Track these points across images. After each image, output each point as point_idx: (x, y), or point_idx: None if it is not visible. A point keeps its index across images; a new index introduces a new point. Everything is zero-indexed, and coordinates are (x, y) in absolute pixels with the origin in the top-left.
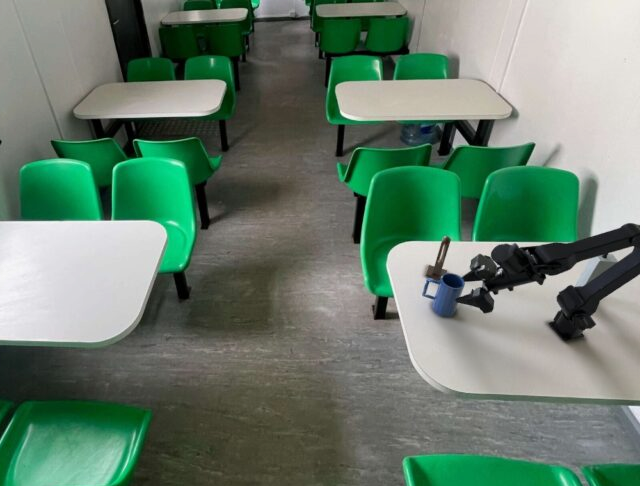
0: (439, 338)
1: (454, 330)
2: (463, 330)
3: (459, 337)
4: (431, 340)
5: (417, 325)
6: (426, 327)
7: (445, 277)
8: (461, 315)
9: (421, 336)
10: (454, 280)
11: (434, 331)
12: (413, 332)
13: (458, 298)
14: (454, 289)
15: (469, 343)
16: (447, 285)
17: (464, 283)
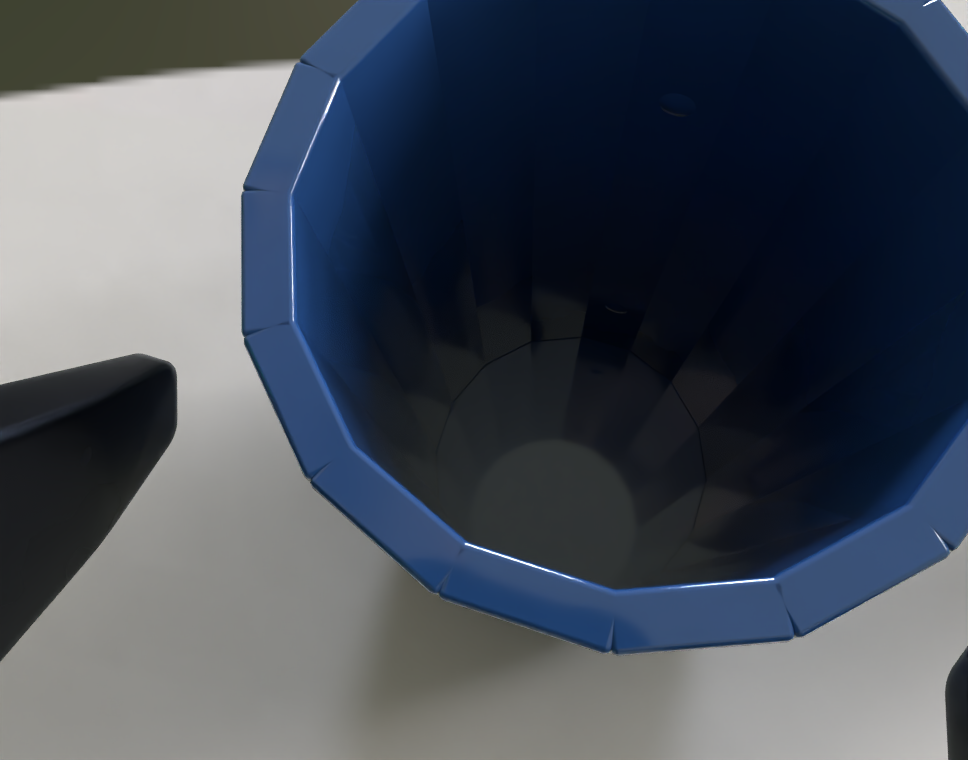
0: (71, 355)
1: (205, 559)
2: (213, 684)
3: (95, 605)
4: (41, 264)
5: (246, 138)
6: (225, 230)
7: (873, 151)
8: (484, 712)
9: (93, 166)
10: (872, 443)
11: (172, 312)
12: (144, 92)
13: (55, 388)
14: (249, 237)
15: (3, 721)
16: (376, 32)
17: (576, 628)
